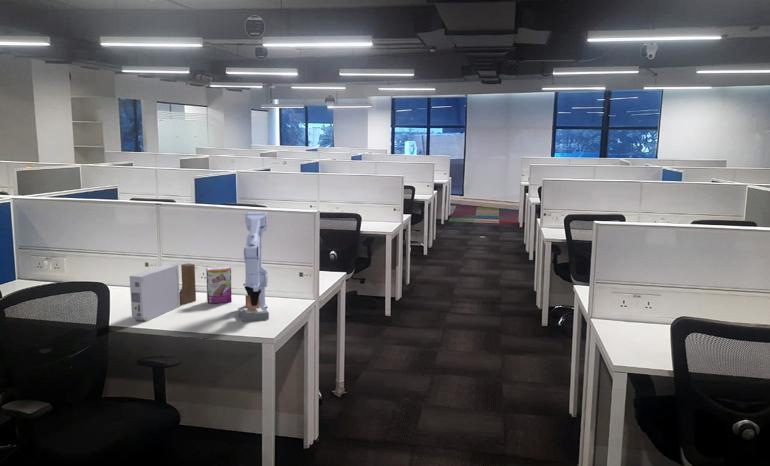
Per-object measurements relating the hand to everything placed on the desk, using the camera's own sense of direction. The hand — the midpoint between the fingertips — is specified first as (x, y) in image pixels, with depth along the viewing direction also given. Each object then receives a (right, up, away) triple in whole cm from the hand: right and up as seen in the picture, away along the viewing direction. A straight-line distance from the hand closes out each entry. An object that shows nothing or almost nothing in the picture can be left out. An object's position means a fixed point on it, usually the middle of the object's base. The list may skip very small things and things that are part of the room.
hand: (253, 303), depth 264 cm
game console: (-43, -5, +5) cm, 44 cm away
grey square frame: (0, -6, +1) cm, 6 cm away
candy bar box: (-21, -2, +25) cm, 33 cm away
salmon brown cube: (0, -2, 0) cm, 2 cm away
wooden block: (-37, -2, +24) cm, 44 cm away
